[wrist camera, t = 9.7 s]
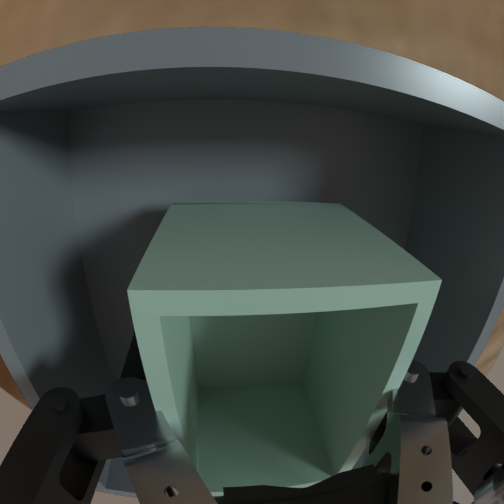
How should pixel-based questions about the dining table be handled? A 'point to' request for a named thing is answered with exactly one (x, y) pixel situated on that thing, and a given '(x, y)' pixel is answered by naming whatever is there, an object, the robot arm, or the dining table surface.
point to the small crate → (275, 335)
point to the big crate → (229, 180)
